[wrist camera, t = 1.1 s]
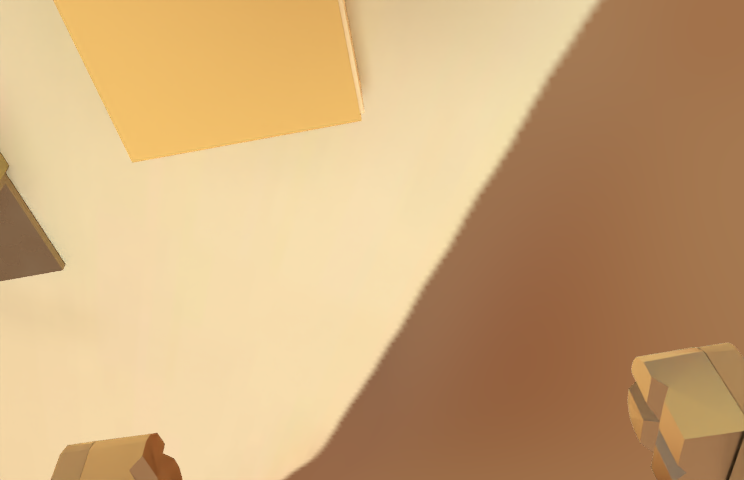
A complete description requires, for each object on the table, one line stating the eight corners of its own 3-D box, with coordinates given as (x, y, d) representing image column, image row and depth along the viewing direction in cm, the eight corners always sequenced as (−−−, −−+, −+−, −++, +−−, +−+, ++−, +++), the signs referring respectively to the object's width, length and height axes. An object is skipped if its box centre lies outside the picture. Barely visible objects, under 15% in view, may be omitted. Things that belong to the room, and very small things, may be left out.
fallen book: (65, -48, 34) (42, -24, 31) (325, -100, 34) (327, -80, 31) (145, 128, 41) (132, 162, 38) (361, 88, 41) (365, 119, 38)
